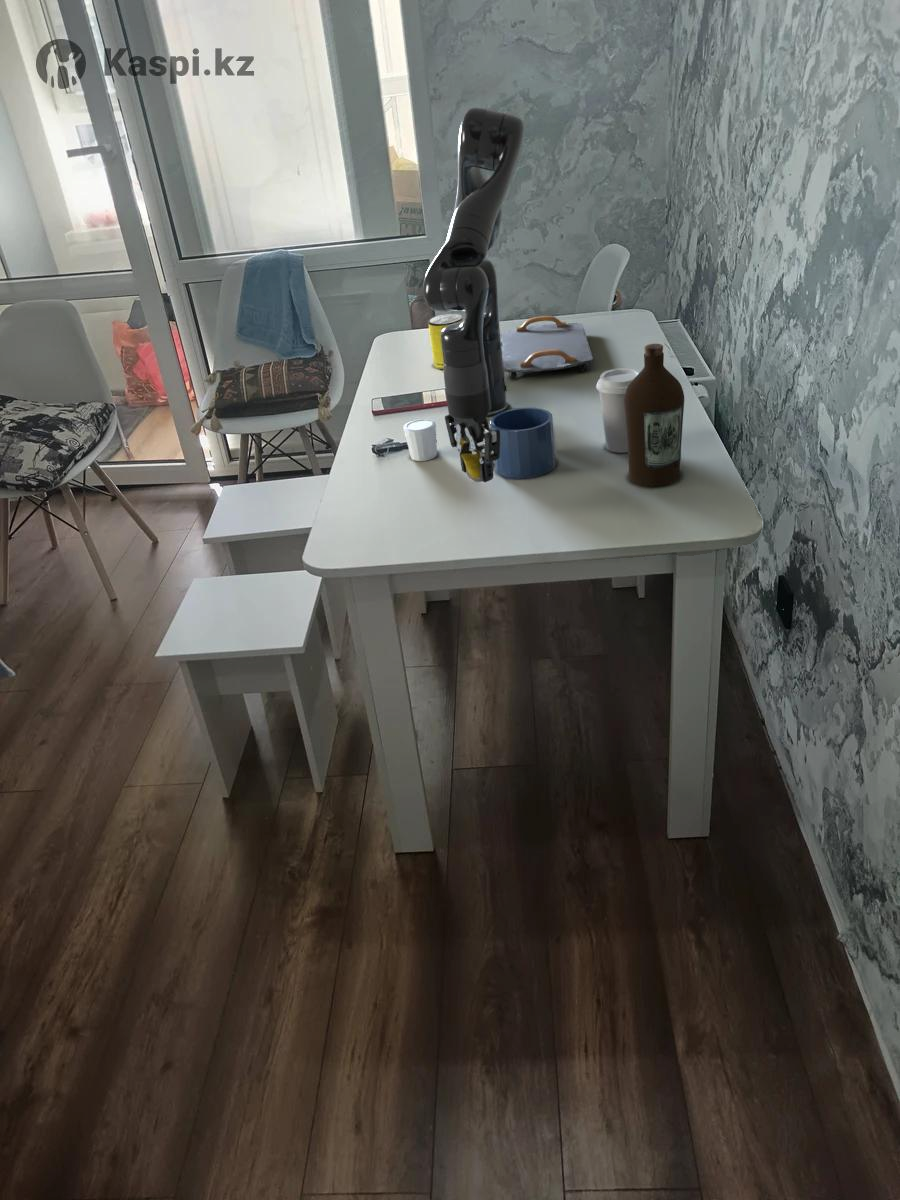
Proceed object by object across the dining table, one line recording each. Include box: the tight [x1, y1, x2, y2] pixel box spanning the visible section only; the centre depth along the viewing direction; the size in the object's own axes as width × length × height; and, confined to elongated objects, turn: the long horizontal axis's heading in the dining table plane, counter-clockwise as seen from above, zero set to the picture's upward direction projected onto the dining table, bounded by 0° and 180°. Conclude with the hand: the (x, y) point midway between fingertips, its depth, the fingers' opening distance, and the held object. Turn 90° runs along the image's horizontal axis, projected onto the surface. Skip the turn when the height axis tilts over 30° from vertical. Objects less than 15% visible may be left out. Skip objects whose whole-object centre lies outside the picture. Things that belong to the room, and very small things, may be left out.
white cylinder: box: [403, 418, 438, 462], centre depth 193 cm, size 7×7×7 cm
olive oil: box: [624, 343, 685, 488], centre depth 166 cm, size 11×11×25 cm
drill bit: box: [461, 451, 495, 483], centre depth 163 cm, size 5×5×10 cm
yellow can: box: [427, 313, 463, 370], centre depth 242 cm, size 9×9×12 cm
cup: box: [489, 407, 556, 480], centre depth 181 cm, size 12×12×10 cm
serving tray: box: [500, 315, 594, 381], centre depth 240 cm, size 39×23×6 cm, turn 178°
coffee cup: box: [595, 367, 641, 454], centre depth 182 cm, size 10×10×15 cm
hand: (477, 475), depth 165 cm, fingers closed on drill bit, 5 cm apart
